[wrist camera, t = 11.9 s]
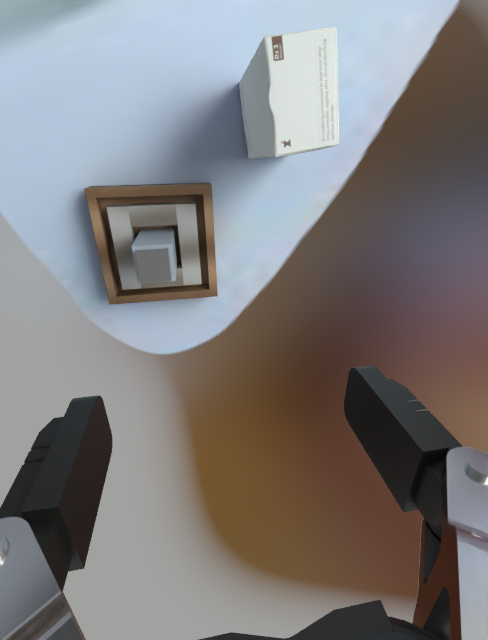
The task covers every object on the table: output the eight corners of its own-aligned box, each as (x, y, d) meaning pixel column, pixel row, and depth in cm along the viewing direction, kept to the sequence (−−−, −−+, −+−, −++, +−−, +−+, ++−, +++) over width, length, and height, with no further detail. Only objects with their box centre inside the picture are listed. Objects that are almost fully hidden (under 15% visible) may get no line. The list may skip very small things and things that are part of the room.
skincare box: (292, 152, 41) (343, 151, 28) (244, 160, 41) (274, 162, 27) (286, 69, 37) (343, 23, 24) (234, 77, 37) (263, 34, 24)
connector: (141, 228, 41) (130, 248, 32) (173, 227, 42) (171, 246, 33) (146, 259, 43) (136, 286, 34) (177, 258, 44) (175, 284, 35)
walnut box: (91, 186, 39) (83, 188, 36) (209, 182, 41) (211, 184, 38) (113, 295, 45) (109, 305, 42) (215, 288, 47) (217, 296, 44)
